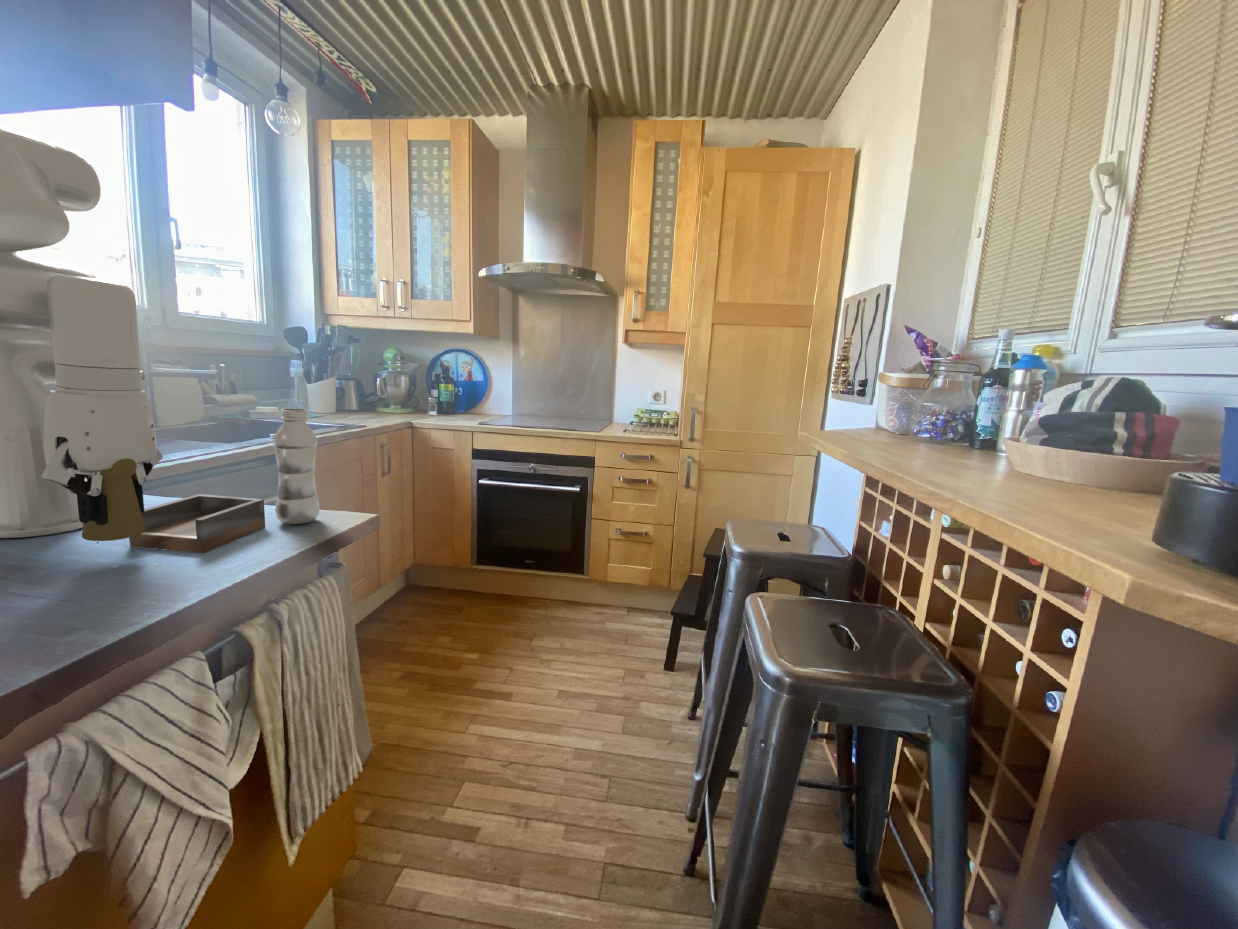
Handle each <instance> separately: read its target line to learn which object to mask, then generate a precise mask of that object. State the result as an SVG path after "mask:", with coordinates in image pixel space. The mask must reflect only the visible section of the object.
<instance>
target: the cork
mask: <svg viewBox="0 0 1238 929" xmlns="http://www.w3.org/2000/svg"><path fill="white" fill-rule="evenodd" d="M135 471H136V463H135V462H134V460H132V459H128V458H125V459H121V460H119V461H117V462H115V463H114V464H113V465H112V467H111V468H109V469H107V470H104V471H101V473H102V484H101V492H100V494H105V495H106V498H107V516H108V523H106V524H104V525H97V524H96V523H95V521H88V523H83V528H81V529H82V531H81V539H84V540H86V541H89V542H90V541H91V542H108V541H109V542H110V541H117V540H125V539H129V538H130V537H134V536H137V535H140V534H142V533H143V532H145V530H146V529H145V525H144V522H143V518H142V514H141V510H140V507H139V503H138V499H137V496H136V492H135V488H134V485H133V481H132V477H131V476H132V475H133V474H134V473H135ZM84 476H85V480H86V482H87V483H88V475H84Z"/></svg>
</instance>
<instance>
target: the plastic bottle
mask: <svg viewBox="0 0 1238 929" xmlns="http://www.w3.org/2000/svg"><path fill="white" fill-rule="evenodd" d="M307 412H308V411H307V409H304V408H290V407H289V408H281V410H280V414H281V416H280V421H282V424H281V425H280V426H279V428H278V429H277V431H276V432H275V434H274V436H273V439H272V444H273V449H274V454H275V458H276V459H275V460H276V466H277V471H278V474H277V475H278V484H277V490H278V491H277V498H276V502H275V514H276V518H277V519H278V521H279V522H280V523H282V524H286V525H299V524H306V523H311V522H313V521H315V520H316V519H317V518H318V516H319V513H320V501H319V497H318V494H317V486H316V478H315V477H316V476H315V473H316V471H315V469H316V456H317V449H318V446H317V445H318V438H317V435H316V433H315V432H314V431H313V430H312V428H311V427H310V426H309V425H308V424H307V421H308V420H309V418H308V413H307Z"/></svg>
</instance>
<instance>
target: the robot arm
mask: <svg viewBox="0 0 1238 929" xmlns="http://www.w3.org/2000/svg"><path fill="white" fill-rule="evenodd" d="M101 192H102V190H101V184H100V179H99V176H98V174H97V172H96V171H95V169H94V167H93V166H92V164H91V163H90V161H88V160H87V158H85V157H84V156H83V155H82V154H81V153H79V152H78V151H77V150H75V149H72V148H70V147H67V146H65V145H61V144H59V143H56V142H52V141H49V140H46V139H43V138H39V137H36V136H34V135H30V134H26V133H24V132H21V131H19V130H14V129H12V128H8V127H5V126H2V125H0V539H13V538H14V539H15V538H17V539H18V538H29V537H39V536H40V537H41V536H47V535H55V534H60V533H66V532H71V531H74V530H75V531H76V530H78V529H82V528H83V523H88V521H95V523H96V524H97V525H104V524H106V523H108V516H107V498H106V495H105V494H100V492H101V484H102V473H101V471H104V470H107V469H109V468H111V467H112V465H113V464H114V463H115V462H117V461H119V460H121V459H125V458H128V459H132V460H134V462H135V463H136V471H135V473H134V474H133V475H132V476H131V477H132V481H133V485H134V488H135V492H136V496H137V499H138V503H139V507H140V510H141V513H143V512H144V509H145V502H144V490H143V489H144V488H143V486H144V485H146V484H147V482H148V475H149V474H150V473H151V472H152V470H153V468H154V467H155V466H156V465H157V464H159V462H160V461H162V459H163V453H162V452H161V451H160V450H159V449H158V448H157V438H156V430H155V429H156V428H155V422H154V417H153V413H152V408H151V405H150V402H149V398H148V395H147V393H146V391H145V390H143V381H144V380H145V379H146V374H145V372H144V371H142V368H141V367H142V366H141V355H140V343H139V342H140V341H139V327H138V326H139V325H138V314H137V313H138V312H137V303H136V301H137V300H136V295H135V293H134V291H133V290H132V288H131V287H129V286H128V285H126V284H123V283H121V282H118V281H117V282H116V281H111V280H108V279H107V280H106V279H100V278H97V277H96V276H95V275H94V274H93V273H91V271H88V270H87V269H85V268H83V267H79V266H77V265H73V264H70V263H63V262H59V261H52V260H47V259H40V258H35V257H32V256H30V255H27V254H26V253H24V252H23V251H29V250H37V249H43V248H48V247H51V246H53V245H56V244H57V243H60V242H62V241H63V240H64V239H66V238H67V236H68V234H69V231H70V221H69V219H68V216H67V214H66V212H79V213H80V212H88V211H91V210H93V209H94V208H96V206H98V205H99V204H98V203H99V201H100V199H101ZM48 384H56V389H53V390H50V389H48V388H47V386H46V385H48ZM84 475H88V483H87V480H86V478H85V476H84ZM85 480H86V481H85Z"/></svg>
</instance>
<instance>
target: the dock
mask: <svg viewBox="0 0 1238 929" xmlns="http://www.w3.org/2000/svg"><path fill="white" fill-rule="evenodd" d="M141 514H142V518H143V522H144V525H145V529H146V530H145V532H143V533H142V534H140V535H137V536H134V537H130V538H128V539H129V547H130V548H137V547H140V548H139V549H149V548H157V549H156V550H161V549H166V550H165V551H173V552H185V551H188V552H187V553H197V554H198V553H199V554H206V553H209V552H210V551H213V550H216V549H218V548H221V547H223V546H226V545H228V544H230V543H233V542H235V541H237V540H239V539H243V538H245V537H247V536H250V535H252V534H254V533H257V532H259V531H261V530H264V529H266V518H265V517H266V516H265V514H266V513H265V499H262V498H250V497H242V496H241V497H238V496H229V495H228V496H226V495H215V494H203V493H198V494H193V495H191V496H188V497H183V498H179V499H176V500H171V501H169V502H165V503H162V504H159V505H154V506H150V507H147V508H144V512H143V513H141ZM225 544H226V545H225Z"/></svg>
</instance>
